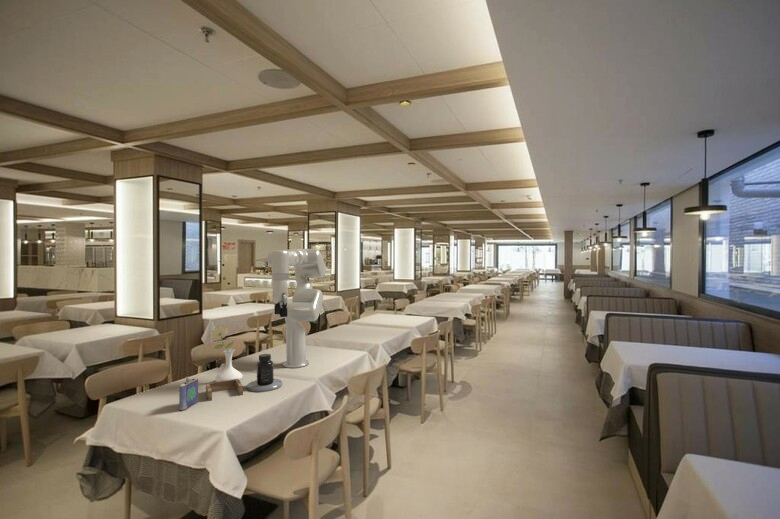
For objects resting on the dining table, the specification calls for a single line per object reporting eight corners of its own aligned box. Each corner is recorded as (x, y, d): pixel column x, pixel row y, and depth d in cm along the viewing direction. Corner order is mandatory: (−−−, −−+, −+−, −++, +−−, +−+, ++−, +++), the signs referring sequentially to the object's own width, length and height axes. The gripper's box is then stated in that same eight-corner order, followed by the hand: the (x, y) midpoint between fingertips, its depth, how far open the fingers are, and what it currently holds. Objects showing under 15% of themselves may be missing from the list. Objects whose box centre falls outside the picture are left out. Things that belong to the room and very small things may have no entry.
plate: (244, 384, 166) (244, 381, 166) (277, 379, 173) (277, 376, 173) (250, 394, 154) (250, 391, 154) (285, 388, 161) (285, 385, 161)
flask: (184, 411, 138) (183, 381, 138) (176, 411, 138) (176, 380, 138) (199, 401, 147) (199, 373, 147) (192, 401, 147) (192, 373, 147)
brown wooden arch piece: (205, 392, 157) (205, 383, 157) (238, 386, 163) (238, 378, 163) (208, 400, 147) (208, 391, 147) (242, 394, 154) (242, 386, 154)
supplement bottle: (256, 382, 166) (255, 354, 166) (272, 379, 168) (272, 352, 168) (257, 386, 159) (257, 357, 159) (274, 384, 162) (274, 355, 162)
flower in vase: (239, 376, 179) (239, 321, 178) (245, 382, 169) (245, 325, 169) (208, 381, 171) (208, 324, 171) (213, 388, 162) (212, 328, 162)
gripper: (267, 277, 181) (268, 313, 181) (276, 278, 166) (277, 318, 166) (283, 276, 184) (284, 312, 184) (294, 278, 169) (294, 317, 169)
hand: (280, 315), depth 175 cm, fingers open, 9 cm apart
